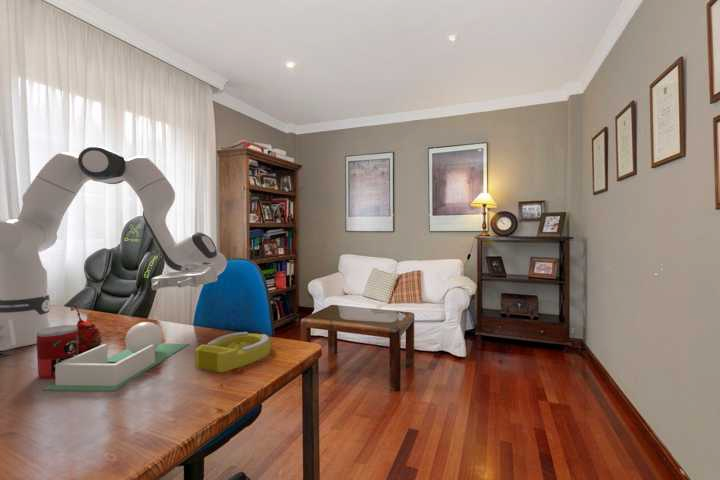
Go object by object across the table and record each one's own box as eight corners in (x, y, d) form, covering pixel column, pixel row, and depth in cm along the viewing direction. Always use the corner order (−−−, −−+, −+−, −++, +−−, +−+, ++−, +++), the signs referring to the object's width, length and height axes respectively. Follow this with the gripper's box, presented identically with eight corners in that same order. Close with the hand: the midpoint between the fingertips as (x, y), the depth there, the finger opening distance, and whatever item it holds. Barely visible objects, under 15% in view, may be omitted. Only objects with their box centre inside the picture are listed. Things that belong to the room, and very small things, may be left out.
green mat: (138, 344, 107) (138, 343, 107) (188, 344, 106) (188, 343, 106) (43, 390, 76) (43, 388, 76) (113, 391, 75) (113, 390, 75)
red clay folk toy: (92, 354, 97) (91, 302, 97) (63, 357, 96) (62, 304, 95) (105, 346, 105) (104, 297, 104) (78, 348, 103) (77, 298, 103)
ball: (119, 360, 92) (118, 327, 92) (133, 349, 101) (132, 319, 101) (156, 358, 94) (155, 325, 94) (166, 347, 103) (166, 317, 103)
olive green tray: (183, 366, 90) (183, 348, 90) (237, 342, 109) (236, 327, 109) (234, 375, 84) (233, 355, 84) (281, 348, 104) (280, 332, 104)
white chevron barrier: (103, 362, 92) (103, 344, 92) (154, 363, 91) (154, 344, 91) (55, 386, 78) (55, 364, 78) (115, 387, 77) (115, 365, 77)
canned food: (55, 380, 81) (54, 334, 80) (28, 378, 82) (27, 332, 82) (87, 368, 88) (86, 325, 88) (62, 365, 90) (61, 324, 89)
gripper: (166, 267, 122) (135, 279, 108) (218, 262, 118) (192, 274, 105) (170, 284, 123) (140, 298, 110) (222, 280, 119) (197, 293, 106)
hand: (166, 286), depth 107 cm, fingers open, 8 cm apart
